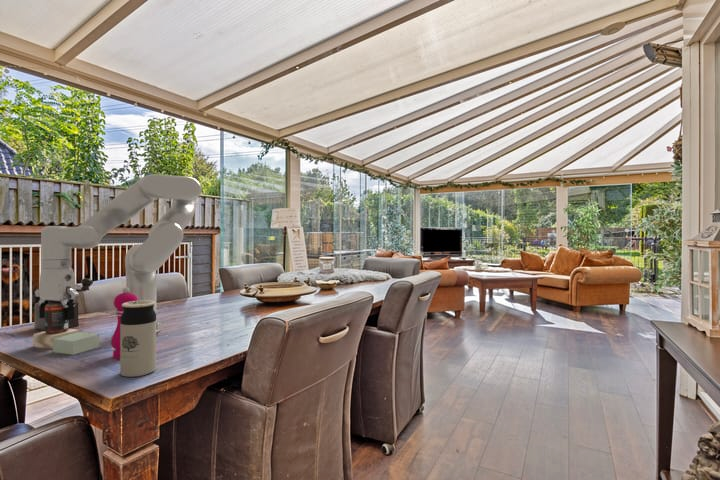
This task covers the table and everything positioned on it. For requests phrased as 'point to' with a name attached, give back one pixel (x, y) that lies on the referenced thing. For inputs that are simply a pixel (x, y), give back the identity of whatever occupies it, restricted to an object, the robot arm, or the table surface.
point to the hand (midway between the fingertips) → (56, 318)
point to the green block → (75, 343)
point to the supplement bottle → (55, 318)
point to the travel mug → (137, 338)
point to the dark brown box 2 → (86, 283)
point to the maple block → (49, 338)
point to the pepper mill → (118, 304)
